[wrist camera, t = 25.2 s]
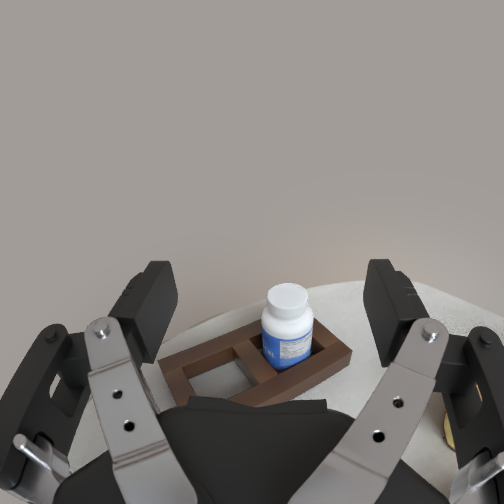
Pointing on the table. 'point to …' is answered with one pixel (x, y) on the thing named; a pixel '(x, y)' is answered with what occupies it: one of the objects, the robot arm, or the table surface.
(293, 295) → the pill bottle
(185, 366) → the socket base
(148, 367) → the table surface
